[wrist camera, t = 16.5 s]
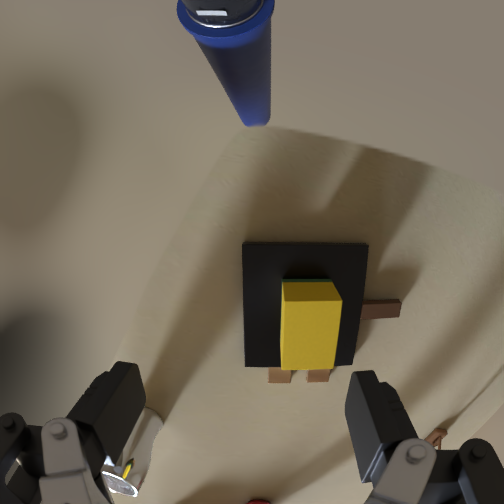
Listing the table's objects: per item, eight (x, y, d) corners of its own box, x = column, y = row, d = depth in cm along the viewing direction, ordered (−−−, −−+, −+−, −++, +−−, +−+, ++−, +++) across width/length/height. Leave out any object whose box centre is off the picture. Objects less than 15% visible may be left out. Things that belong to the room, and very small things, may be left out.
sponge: (281, 278, 33) (284, 301, 27) (330, 278, 33) (342, 300, 27) (280, 340, 35) (281, 370, 29) (324, 340, 35) (333, 368, 29)
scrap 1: (268, 362, 37) (268, 365, 37) (291, 362, 37) (291, 366, 36) (268, 379, 38) (268, 383, 37) (290, 379, 38) (290, 383, 37)
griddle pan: (242, 241, 33) (241, 245, 32) (404, 243, 32) (410, 246, 31) (245, 361, 38) (244, 368, 36) (385, 357, 36) (388, 363, 35)
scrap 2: (308, 361, 37) (308, 365, 36) (330, 361, 37) (331, 364, 36) (306, 379, 38) (306, 382, 37) (327, 378, 38) (328, 381, 37)
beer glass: (126, 421, 43) (94, 483, 28) (128, 397, 41) (91, 463, 27) (162, 436, 43) (138, 501, 29) (168, 414, 41) (140, 485, 27)
